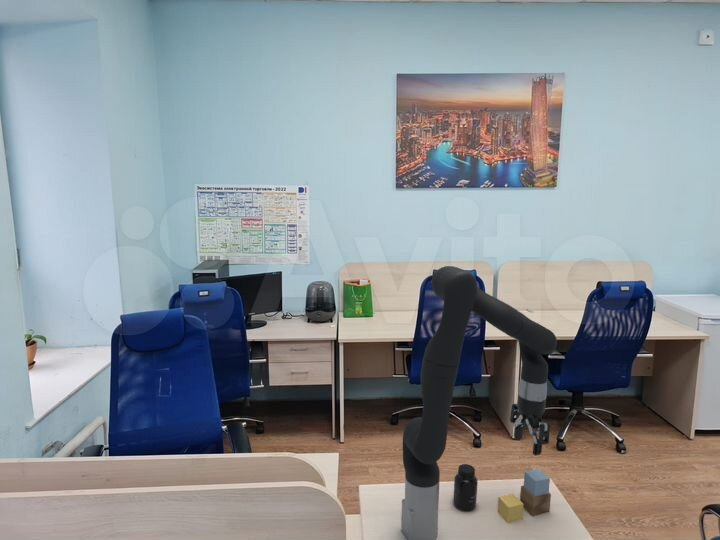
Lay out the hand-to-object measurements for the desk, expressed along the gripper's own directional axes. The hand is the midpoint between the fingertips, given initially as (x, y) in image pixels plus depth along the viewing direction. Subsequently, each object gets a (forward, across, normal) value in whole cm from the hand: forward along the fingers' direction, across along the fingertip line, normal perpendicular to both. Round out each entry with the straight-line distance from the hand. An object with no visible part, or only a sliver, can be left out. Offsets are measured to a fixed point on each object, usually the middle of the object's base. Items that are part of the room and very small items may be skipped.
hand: (526, 446), depth 144 cm
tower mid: (+15, 0, +5) cm, 15 cm away
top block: (+21, +1, -4) cm, 21 cm away
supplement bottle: (+21, -8, -14) cm, 27 cm away
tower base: (+21, 0, +5) cm, 21 cm away
